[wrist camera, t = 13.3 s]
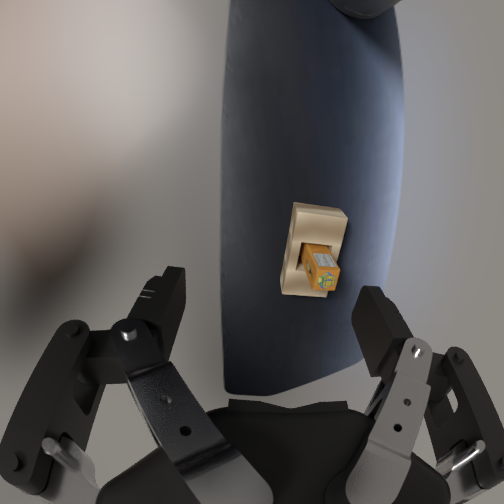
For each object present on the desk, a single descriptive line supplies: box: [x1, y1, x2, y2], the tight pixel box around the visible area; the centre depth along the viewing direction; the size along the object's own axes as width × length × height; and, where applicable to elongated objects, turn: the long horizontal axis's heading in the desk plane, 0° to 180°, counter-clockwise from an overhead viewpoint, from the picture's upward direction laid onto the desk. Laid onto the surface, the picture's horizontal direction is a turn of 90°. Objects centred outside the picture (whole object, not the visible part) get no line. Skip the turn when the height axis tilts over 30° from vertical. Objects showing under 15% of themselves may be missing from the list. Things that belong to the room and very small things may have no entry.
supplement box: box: [300, 242, 340, 291], centre depth 38 cm, size 3×3×10 cm
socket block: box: [280, 202, 348, 297], centre depth 40 cm, size 13×7×4 cm, turn 174°
